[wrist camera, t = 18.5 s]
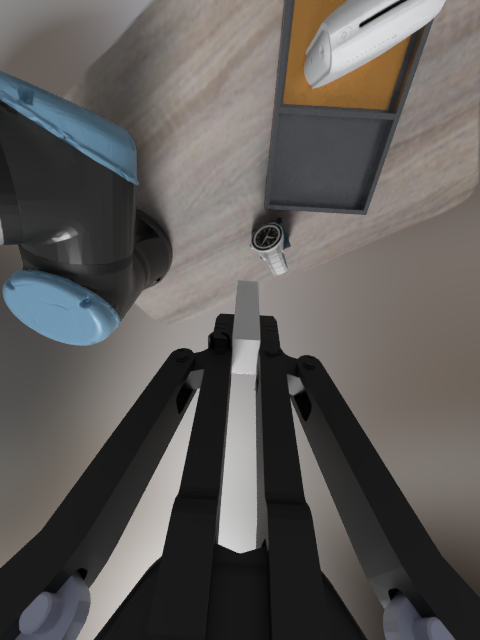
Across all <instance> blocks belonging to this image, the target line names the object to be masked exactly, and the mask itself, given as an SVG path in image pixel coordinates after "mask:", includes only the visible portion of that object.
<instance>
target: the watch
mask: <svg viewBox="0 0 480 640" xmlns="http://www.w3.org/2000/svg"><path fill="white" fill-rule="evenodd" d="M290 246H291V245H290V243H289V240H288V237H287V234H286V232H285V229H284V226H283V224H282V221H281V218H279V219H277V220H275V221H273V222H271V223H267V224H264V225H262V226H260V227H259V228H258V229H256V230H254V231H252V238H251V245H250V248H251V250H253V249H255V250H256V251H257V253H258V254H259V255H260V257H261V259H263V260H266V261H267V263H268V265H269V267H270V269H271V271H272V273H273V274H274V275H275V276H277V275H280V274H282V273H285V272H287V271H288V270H287V268H288V267H287V264H286V261H285V258H284V257H285V255H283V251H284V249H285V248H288V247H290Z"/></svg>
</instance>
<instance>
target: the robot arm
mask: <svg viewBox="0 0 480 640" xmlns="http://www.w3.org/2000/svg"><path fill="white" fill-rule="evenodd" d="M137 185H139V181H138V179H137V150H136V145H135V143H134V140H133V139H132V137H131V136H130V134H129V133H128V132H127V131H126V130H125V129H123V128H122V127H120V126H119V125H117V124H115V123H113V122H111V121H109V120H107V119H105V118H103V117H101V116H99V115H97V114H95V113H93V112H91V111H89V110H86V109H84V108H82V107H80V106H78V105H76V104H74V103H71V102H69V101H67V100H65V99H63V98H61V97H58V96H56V95H54V94H52V93H50V92H48V91H46V90H43V89H41V88H39V87H37V86H35V85H32V84H30V83H28V82H26V81H23V80H21V79H19V78H17V77H14V76H12V75H9V74H7V73H4V72H2V71H0V245H9V244H10V245H12V244H18V246H19V250H20V254H21V258H22V262H23V269H22V270H20V271H17V272H14V273H13V274H11V276H10V278H9V280H7V281H6V282H5V284H4V286H3V297H4V300H5V302H6V304H7V306H8V307H9V309H10V310H11V311H12V313H13V314H14V315H15V316H16V317H17V318H18V319H19V320H21V321H22V322H23V323H24V324H26V325H27V326H28V327H30V328H32V329H34V330H35V331H37V332H38V333H40V334H42V335H44V336H46V337H48V338H51V339H53V340H56V341H59V342H63V343H67V344H72V345H91V344H95V343H97V342H101V341H103V340H104V339H106V338H107V337H108V336H109V335H110V334H111V333H112V332H113V331H114V330H115V329H116V328H117V327H118V326H119V323H120V322H121V320H122V319H123V317H124V316H125V314H126V313H127V312H128V310H129V309H130V307H131V306H132V305H133V303H134V302H135V300H136V299H137V298H138V296H139V295H140V293H141V292H142V291H143V290H145V289H147V288H149V287H151V286H154V285H156V284H157V283H159V282H160V281H161V280H162V279H163V278H164V277H165V275H166V274H167V272H168V270H169V268H170V266H171V263H172V249H171V245H170V242H169V239H168V237H167V235H166V234H165V232H164V230H163V229H162V228H161V227H160V225H159V224H158V223H157V222H156V221H155V220H154V219H152V218H151V217H150V216H148V215H147V214H145V213H143V212H141V211H139V210H137V209H136V197H137ZM258 295H259V294H258V282H252V281H238V286H237V296H236V307H235V314H220V315H219V316H218V317H217V318H216V322H215V327H214V332H212V333H211V334H210V335H209V336H208V349H206V350H204V351H202V352H197V353H193V352H192V350H190V349H186V348H181V349H177V350H175V351H173V352H172V353H171V354H170V356H169V357H168V358H167V360H166V361H165V362H164V364H163V365H162V367H161V368H160V369H159V371H158V372H157V374H156V375H155V376H154V377H153V379H152V380H151V382H150V383H149V384H148V386H147V387H146V389H145V390H144V391H143V392H142V394H141V395H140V397H139V398H138V399H137V401H136V402H135V404H134V405H133V407H131V409H130V410H129V412H128V413H127V414H126V416H125V417H124V418H123V420H122V421H121V423H120V424H119V425H118V427H117V428H116V429H115V431H114V432H113V433H112V435H111V436H110V438H109V439H108V440H107V442H106V443H105V444H104V446H103V447H102V448H101V450H100V451H99V453H98V454H97V455H96V457H95V458H94V459H93V461H92V462H91V464H90V465H89V466H88V468H87V469H86V470H85V472H84V473H83V475H82V476H81V477H80V478H79V480H78V481H77V483H76V484H75V485H74V487H73V488H72V489H71V491H70V492H69V493H68V495H67V496H66V498H65V499H64V500H63V502H62V503H61V504H60V506H59V507H58V508H57V510H56V511H55V513H54V514H53V515H52V517H51V518H50V519H49V521H48V522H47V524H46V525H45V526H44V528H43V529H42V530H41V531H40V532H39V533H38V534H37V535H36V536H35V537H34V538H33V539H32V540H30V541H29V542H28V543H27V544H26V545H25V546H24V547H23V548H22V549H21V550H20V551H19V552H18V553H17V554H16V555H14V556H13V557H12V558H11V559H10V560H9V561H8V562H7V563H6V564H5V565H4V566H2V567H1V568H0V640H76V638H77V637H78V635H79V633H80V631H81V629H82V627H83V625H84V624H85V622H86V619H87V616H88V613H89V608H90V592H89V587H90V586H91V585H92V583H93V582H94V581H95V579H96V578H97V576H98V575H99V573H100V572H101V570H102V569H103V567H104V566H105V564H106V563H107V561H108V559H109V557H110V556H111V554H112V552H113V550H114V549H115V547H116V545H117V543H118V541H119V539H120V537H121V536H122V534H123V532H124V530H125V528H126V526H127V524H128V522H129V520H130V518H131V516H132V514H133V512H134V510H135V508H136V507H137V505H138V503H139V501H140V499H141V497H142V495H143V493H144V491H145V489H146V487H147V485H148V483H149V481H150V479H151V477H152V476H153V474H154V472H155V470H156V468H157V466H158V464H159V462H160V460H161V458H162V456H163V454H164V453H165V451H166V449H167V447H168V444H169V443H170V441H171V439H172V437H173V435H174V433H175V431H176V429H177V427H178V425H179V424H180V422H181V420H182V418H183V416H184V414H185V412H186V410H187V408H188V406H189V404H190V402H191V400H192V398H193V397H194V395H195V393H196V391H197V389H198V388H200V392H199V397H198V402H197V407H196V412H195V417H194V422H193V426H192V431H191V436H190V441H189V446H188V451H187V456H186V461H185V466H184V470H183V475H182V480H181V485H180V489H179V493H178V495H177V497H176V498H175V501H174V504H173V508H172V512H171V517H170V521H169V526H168V531H167V535H166V540H165V545H164V549H163V554H162V556H161V557H160V558H159V559H158V560H157V561H156V562H155V563H154V564H153V565H152V566H151V567H150V568H149V569H148V570H147V571H146V572H145V574H144V575H143V577H142V578H141V579H140V580H139V581H138V583H137V584H136V585H135V587H134V588H133V589H132V591H131V592H130V593H129V595H128V596H127V597H126V599H125V600H124V601H123V602H122V604H121V605H120V606H119V608H118V609H117V610H116V611H115V613H114V614H113V615H112V617H111V618H110V619H109V620H108V622H107V623H106V624H105V626H104V627H103V629H102V630H101V631H100V632H99V633H98V635H97V636H96V637H95V639H94V640H368V639H367V638H366V636H365V635H364V633H363V632H362V630H361V629H360V627H359V626H358V624H357V622H356V621H355V619H354V618H353V616H352V615H351V613H350V612H349V610H348V609H347V607H346V606H345V604H344V602H343V601H342V599H341V598H340V596H339V595H338V593H337V591H336V590H335V589H334V587H333V585H332V584H331V582H330V581H329V580H328V578H327V577H326V576H325V575H324V573H323V572H322V571H321V569H320V563H319V557H318V550H317V544H316V538H315V531H314V525H313V519H312V515H311V511H310V508H309V506H308V504H307V503H306V500H305V497H304V491H303V484H302V477H301V470H300V463H299V456H298V449H297V443H296V436H295V429H294V422H293V415H292V408H291V401H292V403H293V406H294V408H295V410H296V413H297V415H298V417H299V420H300V422H301V425H302V427H303V429H304V432H305V434H306V436H307V439H308V441H309V443H310V446H311V448H312V451H313V453H314V455H315V457H316V460H317V463H318V465H319V467H320V470H321V472H322V474H323V477H324V479H325V482H326V484H327V486H328V489H329V491H330V493H331V496H332V498H333V501H334V503H335V505H336V508H337V510H338V512H339V515H340V517H341V519H342V522H343V524H344V527H345V529H346V531H347V534H348V536H349V538H350V541H351V543H352V545H353V548H354V550H355V553H356V555H357V557H358V560H359V562H360V564H361V566H362V568H363V571H364V573H365V575H366V577H367V579H368V581H369V583H370V585H371V586H372V588H373V590H374V592H375V594H376V596H377V597H378V599H379V601H380V602H381V604H382V606H383V607H384V609H385V612H384V616H383V627H384V634H385V637H386V640H480V598H479V597H478V595H477V594H476V593H475V592H474V591H473V590H472V589H471V588H470V587H469V586H468V584H467V583H466V582H465V581H464V580H463V579H462V578H461V577H460V576H459V575H458V574H457V572H456V571H455V570H454V569H453V568H452V567H451V566H450V565H449V564H448V562H447V561H446V560H445V559H444V558H443V557H442V556H441V554H440V552H439V551H438V549H437V548H436V546H435V544H434V543H433V541H432V540H431V538H430V536H429V535H428V533H427V532H426V530H425V528H424V527H423V525H422V524H421V522H420V520H419V519H418V517H417V516H416V514H415V512H414V511H413V509H412V508H411V506H410V504H409V503H408V501H407V500H406V498H405V496H404V495H403V493H402V492H401V490H400V488H399V487H398V485H397V484H396V482H395V480H394V479H393V477H392V475H391V474H390V472H389V471H388V469H387V468H386V466H385V464H384V463H383V461H382V459H381V458H380V456H379V455H378V453H377V451H376V450H375V448H374V447H373V445H372V444H371V442H370V440H369V439H368V437H367V436H366V434H365V432H364V431H363V429H362V428H361V426H360V424H359V423H358V421H357V419H356V418H355V416H354V415H353V413H352V411H351V410H350V408H349V407H348V405H347V404H346V402H345V400H344V399H343V397H342V395H341V394H340V392H339V391H338V389H337V387H336V386H335V384H334V383H333V381H332V379H331V378H330V376H329V375H328V373H327V371H326V370H325V368H324V367H323V365H322V363H321V362H320V361H319V360H318V359H317V358H315V357H313V356H310V355H304V356H301V357H299V358H298V359H296V358H292V357H289V356H287V355H286V354H285V353H283V351H282V349H281V348H280V341H279V334H278V328H277V321H276V320H275V318H274V317H273V316H261V315H259V296H258ZM231 373H240V374H257V375H256V383H255V390H256V439H257V440H256V448H257V449H256V450H257V535H256V536H257V537H256V540H257V541H256V549H255V550H252V551H248V552H245V553H236V552H234V551H232V550H230V549H227V548H225V547H223V546H221V545H218V534H219V519H220V506H221V495H222V483H223V471H224V458H225V447H226V435H227V423H228V410H229V398H230V387H231ZM290 399H291V401H290Z"/></svg>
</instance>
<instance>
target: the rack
mask: <svg viewBox="0 0 480 640" xmlns="http://www.w3.org/2000/svg"><path fill="white" fill-rule="evenodd" d="M346 1H347V0H284V9H283V19H282V29H281V39H280V49H279V60H278V70H277V80H276V90H275V100H274V110H273V120H272V130H271V140H270V150H269V161H268V171H267V181H266V191H265V201H264V207H265V209H277V210H293V211H310V212H327V213H344V214H361V215H366V214H367V211H368V208H369V205H370V202H371V199H372V196H373V193H374V190H375V187H376V185H377V182H378V179H379V176H380V173H381V170H382V167H383V164H384V161H385V158H386V156H387V153H388V150H389V147H390V144H391V141H392V138H393V135H394V132H395V129H396V127H397V124H398V121H399V118H400V115H401V112H402V109H403V106H404V103H405V101H406V98H407V95H408V92H409V89H410V86H411V83H412V80H413V77H414V74H415V72H416V69H417V66H418V63H419V60H420V57H421V54H422V51H423V48H424V45H425V43H426V40H427V37H428V34H429V31H430V28H431V25H432V22H433V19H434V18H433V19H432V20H431V21H430V22H428V23H427V24H426V25H424V26H423V27H422V28H420V29H419V30H417V31H416V32H414V33H413V34H411V35H410V36H408V37H407V38H405V39H404V40H402V41H401V42H399V43H398V44H396V45H395V46H393V47H392V48H390V49H389V50H387V51H386V52H384V53H383V54H381V55H380V56H378V57H376V58H374V59H373V60H371V61H369V62H368V63H366V64H364V65H362V66H361V67H359V68H357V69H355V70H353V71H352V72H350V73H348V74H346V75H344V76H342V77H340V78H338V79H336V80H334V81H332V82H330V83H328V84H326V85H324V86H321V87H318V88H314V89H312V88H311V85H310V84H309V83H308V82H307V81H306V79H305V75H304V62H305V59H306V50H307V48H308V47H309V45H310V43H311V42H312V40H313V38H314V36H315V35H316V33H317V31H318V29H319V28H320V26H321V24H322V23H323V21H324V20H325V19H326V18H327V17H328V16H329V15H330V14H331V13H333V12H334V11H335V10H336V9H337V8H338V7H340V6H341V5H342V4H343V3H345V2H346Z"/></svg>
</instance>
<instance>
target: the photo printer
mask: <svg viewBox="0 0 480 640" xmlns="http://www.w3.org/2000/svg"><path fill="white" fill-rule="evenodd" d="M445 1H446V0H347V1H346V2H345V3H343V4H342V5H341V6H340V7H338V8H337V9H336V10H335V11H334V12H333V13H331V14H330V15H329V16H328V17H327V18H326V19H325V20H324V21H323V23H322V24H321V26H320V28H319V29H318V31H317V33H316V35H315V36H314V38H313V40H312V42H311V43H310V45H309V47H308V48H307V50H306V59H305V62H304V75H305V79H306V81H307V82H308V83H309V84H310V85H311V88H312V89H314V88H318V87H321V86H324V85H326V84H328V83H330V82H332V81H334V80H336V79H338V78H340V77H342V76H344V75H346V74H348V73H350V72H352V71H353V70H355V69H357V68H359V67H361V66H362V65H364V64H366V63H368V62H369V61H371V60H373V59H374V58H376V57H378V56H380V55H381V54H383V53H384V52H386V51H387V50H389V49H390V48H392V47H393V46H395V45H396V44H398V43H399V42H401V41H402V40H404V39H405V38H407V37H408V36H410V35H411V34H413V33H414V32H416V31H417V30H419V29H420V28H422V27H423V26H424V25H426V24H427V23H428V22H430V21H431V20H432V19H433V18H434V17H435V16H436V15H437V14H438V13H439V12H440V10H441V9H442V7H443V5H444V3H445Z"/></svg>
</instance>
